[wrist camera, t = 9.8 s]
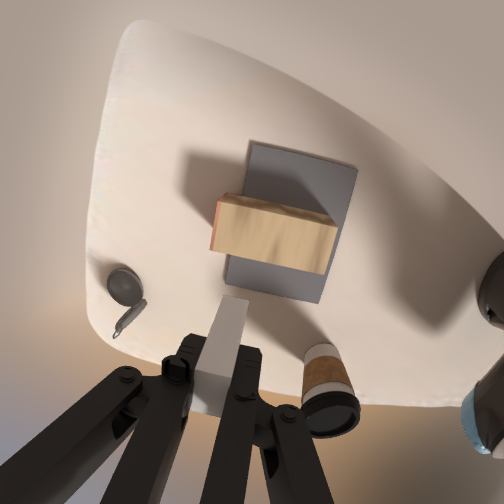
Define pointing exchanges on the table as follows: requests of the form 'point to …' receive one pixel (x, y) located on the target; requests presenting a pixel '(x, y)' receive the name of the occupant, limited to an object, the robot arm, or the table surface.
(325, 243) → the oak block
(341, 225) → the rubber mat
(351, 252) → the table surface
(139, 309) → the pocket watch
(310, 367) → the coffee cup
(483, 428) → the robot arm
